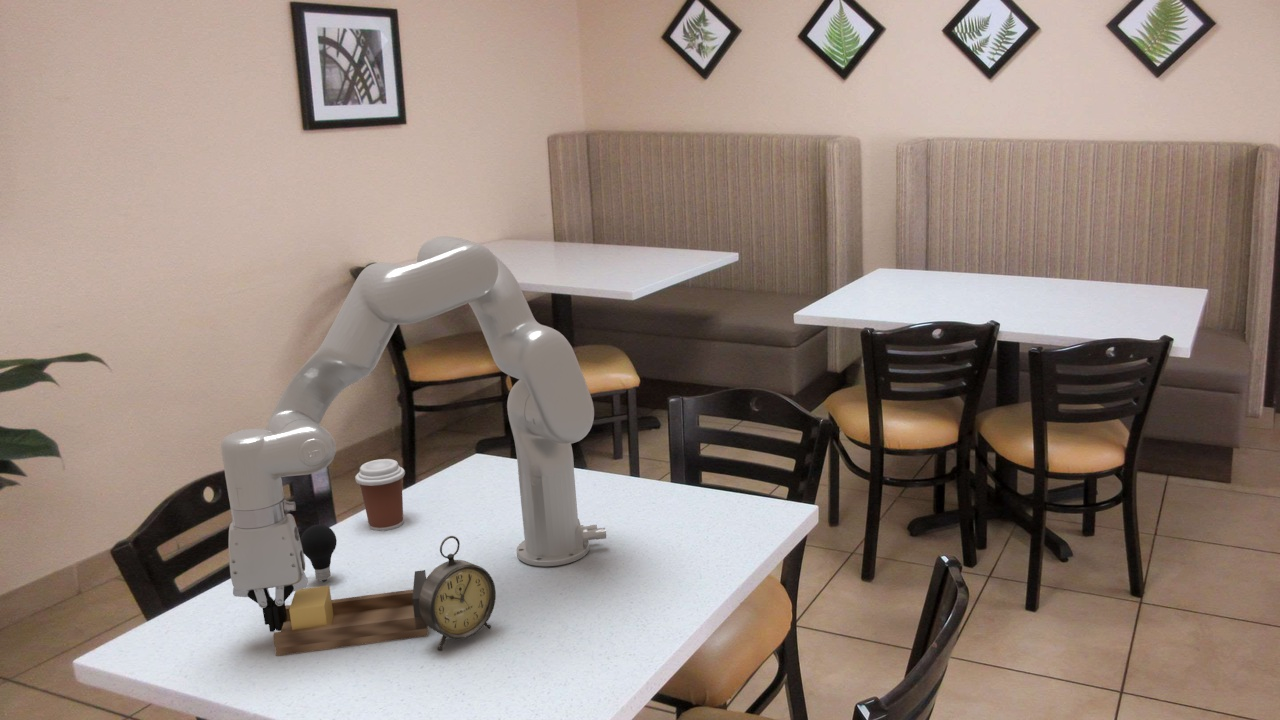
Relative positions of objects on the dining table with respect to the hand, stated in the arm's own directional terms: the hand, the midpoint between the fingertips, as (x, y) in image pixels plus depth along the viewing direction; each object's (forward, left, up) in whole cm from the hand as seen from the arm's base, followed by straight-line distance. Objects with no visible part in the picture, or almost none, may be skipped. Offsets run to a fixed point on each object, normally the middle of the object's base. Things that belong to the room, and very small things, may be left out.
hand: (277, 626), depth 165 cm
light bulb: (-4, -20, -2) cm, 21 cm away
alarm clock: (-27, +7, -2) cm, 28 cm away
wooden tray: (-11, 0, -2) cm, 12 cm away
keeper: (-5, 0, -1) cm, 5 cm away
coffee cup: (-13, -43, -2) cm, 45 cm away
